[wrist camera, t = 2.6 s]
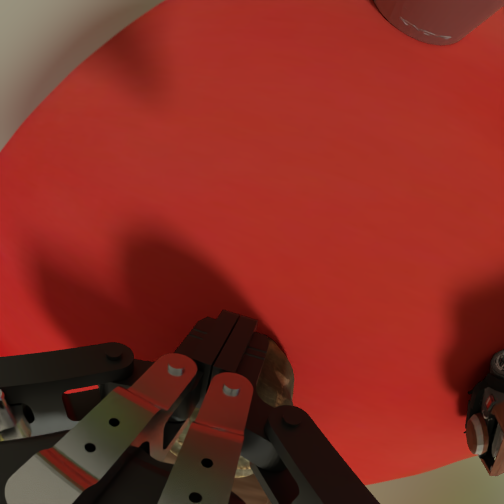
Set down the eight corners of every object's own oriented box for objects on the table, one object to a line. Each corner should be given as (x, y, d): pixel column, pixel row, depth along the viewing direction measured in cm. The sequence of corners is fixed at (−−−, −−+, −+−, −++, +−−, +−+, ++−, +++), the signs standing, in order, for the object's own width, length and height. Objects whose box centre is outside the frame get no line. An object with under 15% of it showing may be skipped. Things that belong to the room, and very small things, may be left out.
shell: (177, 358, 32) (121, 435, 20) (246, 303, 28) (195, 394, 16) (247, 418, 32) (217, 501, 21) (323, 378, 28) (313, 478, 17)
